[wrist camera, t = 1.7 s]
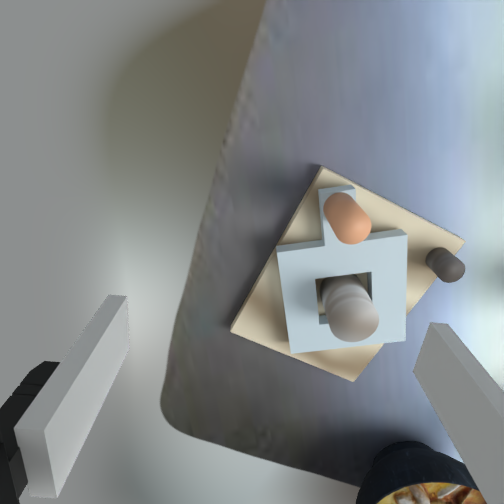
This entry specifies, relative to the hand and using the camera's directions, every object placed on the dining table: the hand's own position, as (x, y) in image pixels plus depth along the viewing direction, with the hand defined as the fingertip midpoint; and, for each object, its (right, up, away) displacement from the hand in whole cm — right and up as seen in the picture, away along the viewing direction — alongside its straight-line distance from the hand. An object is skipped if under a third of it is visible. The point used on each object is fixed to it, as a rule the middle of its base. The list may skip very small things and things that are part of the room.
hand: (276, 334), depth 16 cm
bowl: (+20, -25, +34) cm, 47 cm away
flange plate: (+8, +2, +21) cm, 22 cm away
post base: (+8, 0, +23) cm, 24 cm away
